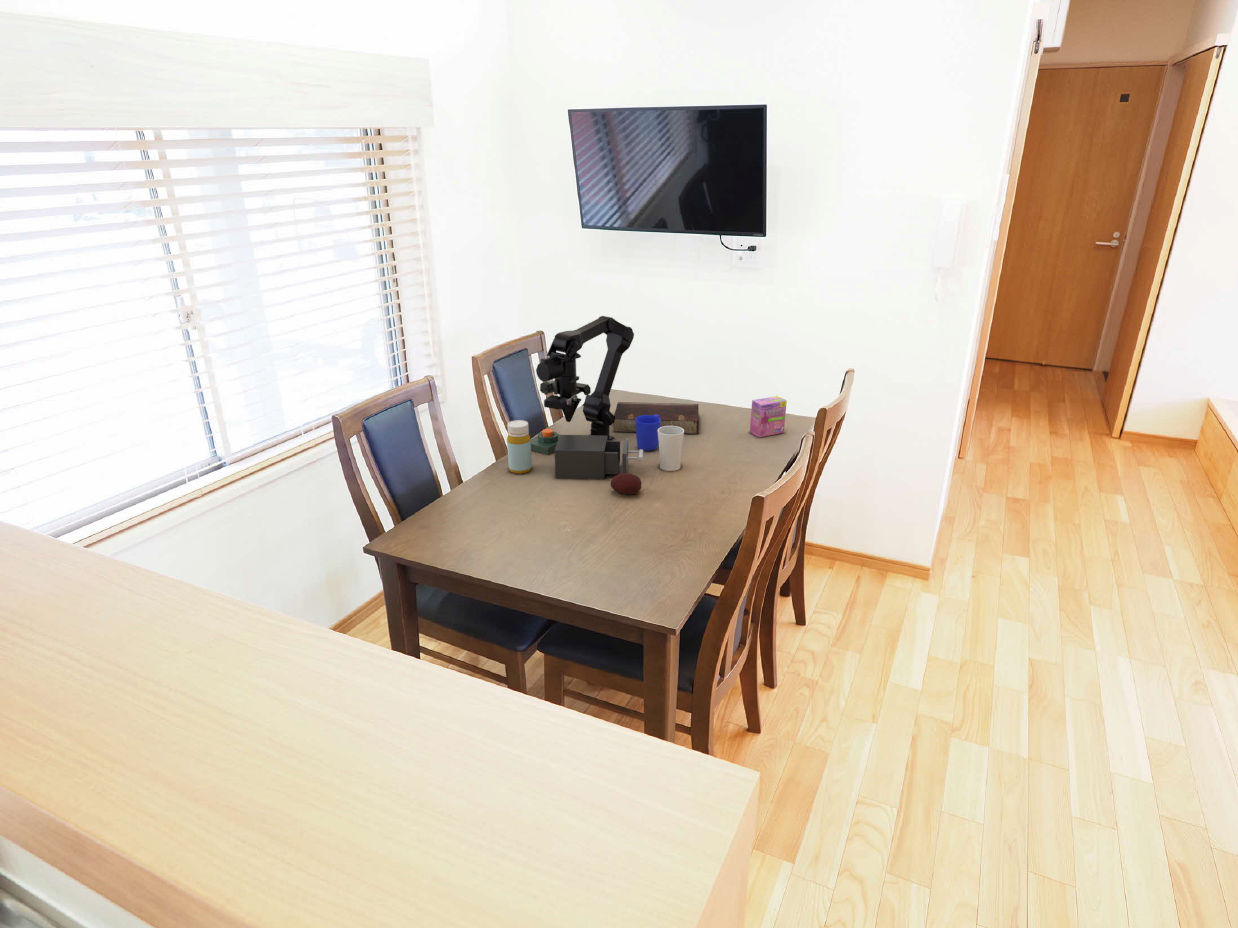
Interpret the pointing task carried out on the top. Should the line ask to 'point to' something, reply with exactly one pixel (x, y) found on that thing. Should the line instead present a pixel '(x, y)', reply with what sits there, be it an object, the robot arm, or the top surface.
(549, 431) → the button
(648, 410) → the book
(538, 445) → the control block
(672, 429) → the cup
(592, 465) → the dark grey lidded case
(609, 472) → the drawer
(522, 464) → the bottle
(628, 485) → the potato
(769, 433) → the box
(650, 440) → the mug
